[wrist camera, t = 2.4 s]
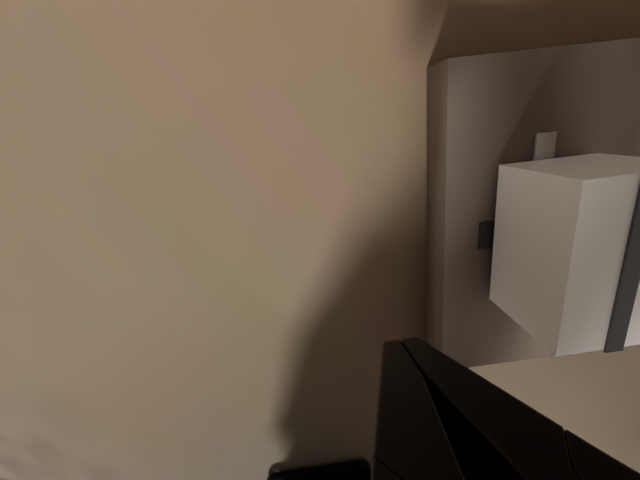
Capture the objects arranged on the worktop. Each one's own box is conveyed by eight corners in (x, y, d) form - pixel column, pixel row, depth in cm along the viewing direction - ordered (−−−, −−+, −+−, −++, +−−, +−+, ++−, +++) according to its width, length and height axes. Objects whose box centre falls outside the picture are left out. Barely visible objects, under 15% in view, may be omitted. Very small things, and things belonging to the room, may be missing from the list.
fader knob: (489, 299, 15) (557, 359, 11) (499, 163, 13) (587, 179, 9) (573, 288, 15) (670, 343, 11) (596, 151, 13) (723, 162, 9)
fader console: (426, 346, 18) (442, 372, 16) (426, 67, 14) (449, 57, 12) (731, 303, 19) (782, 323, 17) (829, 23, 14) (914, 7, 12)
